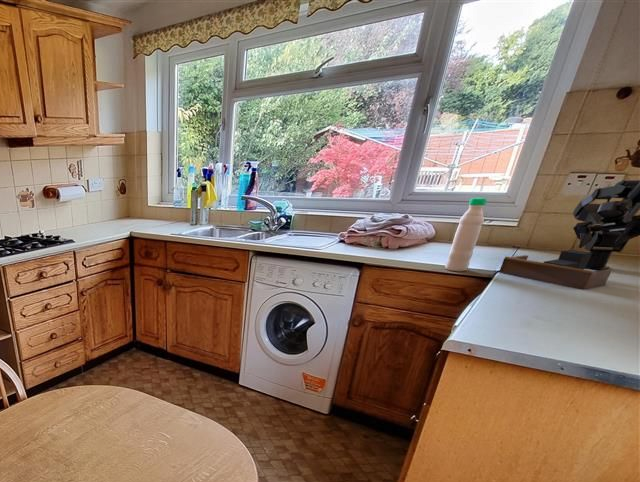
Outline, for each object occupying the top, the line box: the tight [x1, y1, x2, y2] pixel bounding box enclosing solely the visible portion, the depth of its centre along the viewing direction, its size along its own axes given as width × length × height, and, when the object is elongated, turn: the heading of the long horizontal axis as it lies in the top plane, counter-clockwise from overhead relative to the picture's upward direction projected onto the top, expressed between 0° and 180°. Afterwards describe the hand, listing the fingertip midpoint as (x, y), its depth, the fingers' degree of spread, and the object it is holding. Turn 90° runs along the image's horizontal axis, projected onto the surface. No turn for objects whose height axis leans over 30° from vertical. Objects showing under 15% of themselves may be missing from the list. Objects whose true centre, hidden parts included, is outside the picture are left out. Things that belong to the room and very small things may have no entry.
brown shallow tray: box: [498, 254, 613, 290], centre depth 148 cm, size 12×25×6 cm, turn 21°
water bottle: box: [444, 197, 488, 272], centre depth 157 cm, size 7×7×25 cm
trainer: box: [543, 249, 592, 270], centre depth 149 cm, size 13×6×8 cm, turn 111°
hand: (597, 245), depth 145 cm, fingers open, 9 cm apart
